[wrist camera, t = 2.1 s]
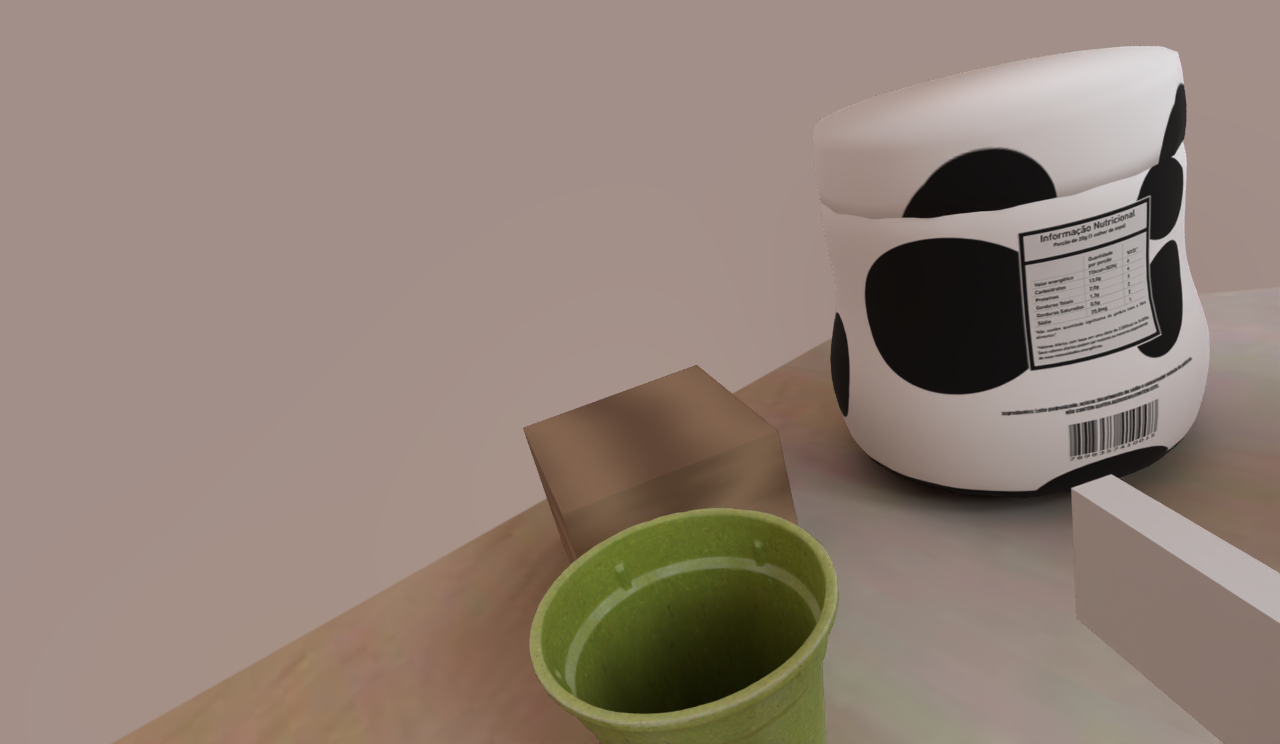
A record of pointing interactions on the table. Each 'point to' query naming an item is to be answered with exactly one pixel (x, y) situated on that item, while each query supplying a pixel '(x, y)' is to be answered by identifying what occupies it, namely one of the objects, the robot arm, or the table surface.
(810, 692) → the plant pot
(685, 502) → the walnut block
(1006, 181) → the milk container
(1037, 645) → the table surface
